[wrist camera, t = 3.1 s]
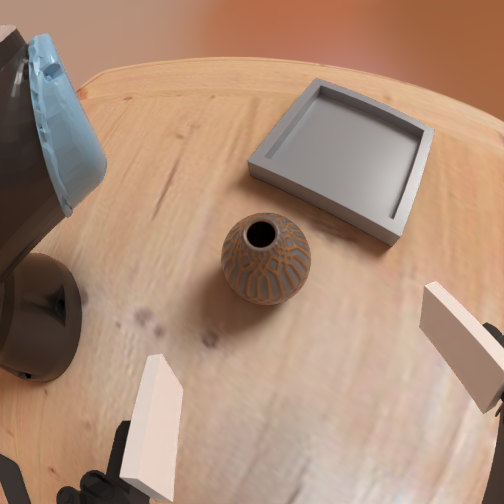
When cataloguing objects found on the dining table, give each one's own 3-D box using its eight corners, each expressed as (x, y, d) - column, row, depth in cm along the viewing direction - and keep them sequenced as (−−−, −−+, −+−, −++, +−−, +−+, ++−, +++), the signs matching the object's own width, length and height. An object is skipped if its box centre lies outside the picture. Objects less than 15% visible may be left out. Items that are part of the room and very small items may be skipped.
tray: (250, 175, 30) (247, 161, 28) (315, 91, 34) (315, 77, 31) (391, 246, 26) (400, 236, 23) (427, 142, 29) (434, 129, 27)
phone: (17, 525, 15) (-10, 450, 20) (20, 524, 16) (-6, 449, 21) (46, 542, 15) (16, 464, 20) (49, 541, 16) (20, 463, 21)
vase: (249, 323, 25) (230, 307, 17) (219, 255, 27) (191, 212, 19) (320, 289, 25) (337, 257, 17) (286, 225, 28) (285, 171, 19)
